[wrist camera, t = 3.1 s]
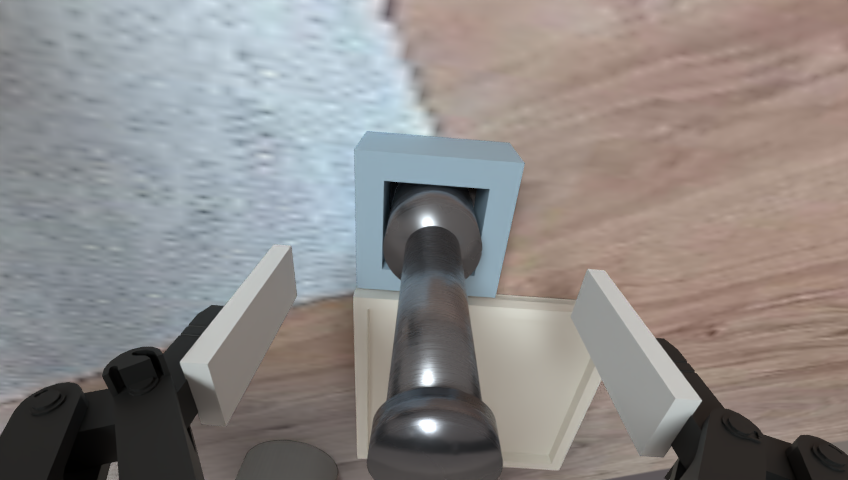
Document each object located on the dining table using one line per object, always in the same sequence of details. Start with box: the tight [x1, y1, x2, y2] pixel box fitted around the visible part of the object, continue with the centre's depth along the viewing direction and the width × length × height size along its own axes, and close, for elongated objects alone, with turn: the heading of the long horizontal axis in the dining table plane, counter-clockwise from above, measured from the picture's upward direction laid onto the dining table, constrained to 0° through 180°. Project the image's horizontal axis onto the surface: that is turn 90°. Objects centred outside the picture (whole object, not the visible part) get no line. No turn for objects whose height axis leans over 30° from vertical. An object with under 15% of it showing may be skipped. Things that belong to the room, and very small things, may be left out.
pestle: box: [367, 182, 503, 480], centre depth 16 cm, size 5×5×16 cm
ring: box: [354, 131, 525, 298], centre depth 22 cm, size 8×8×4 cm
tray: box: [353, 286, 602, 470], centre depth 31 cm, size 20×20×2 cm
